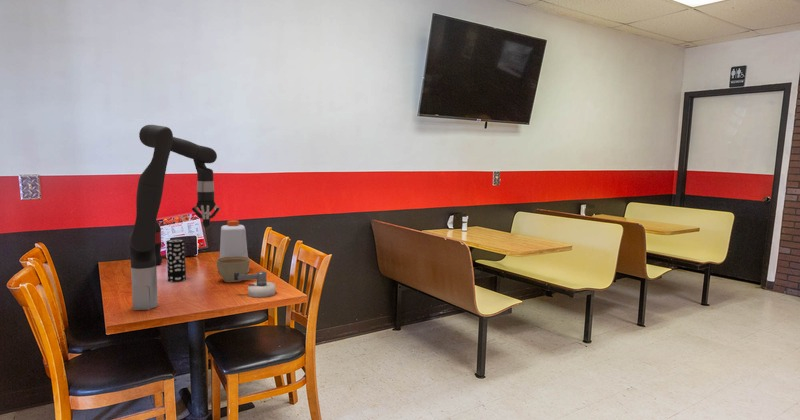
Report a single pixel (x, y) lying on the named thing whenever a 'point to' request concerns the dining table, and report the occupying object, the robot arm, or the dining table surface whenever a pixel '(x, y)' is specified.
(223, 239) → the plastic bottle
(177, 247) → the spotted tube
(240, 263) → the planter bowl
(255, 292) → the stand
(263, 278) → the capstan lever
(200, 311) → the dining table surface
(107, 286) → the dining table surface
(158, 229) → the cola bottle
